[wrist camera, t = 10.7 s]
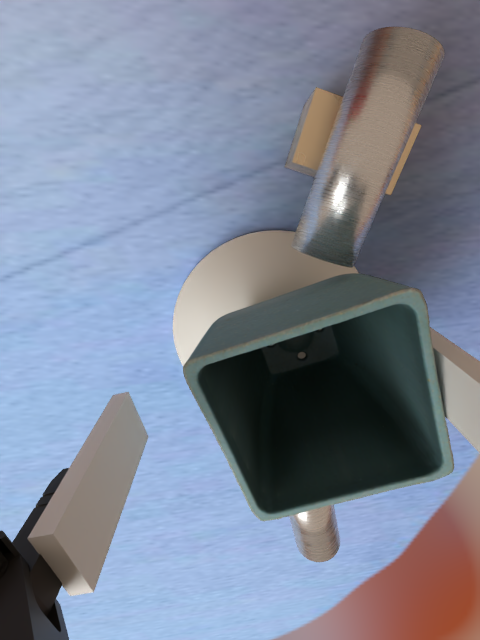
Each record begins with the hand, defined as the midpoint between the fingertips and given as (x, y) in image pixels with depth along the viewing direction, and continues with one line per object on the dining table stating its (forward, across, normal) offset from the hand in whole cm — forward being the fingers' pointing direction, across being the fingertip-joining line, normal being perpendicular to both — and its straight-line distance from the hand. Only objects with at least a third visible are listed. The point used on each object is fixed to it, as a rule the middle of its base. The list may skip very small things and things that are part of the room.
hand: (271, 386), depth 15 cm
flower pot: (+7, +2, -1) cm, 7 cm away
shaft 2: (+7, +6, +8) cm, 12 cm away
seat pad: (+7, +1, 0) cm, 7 cm away
